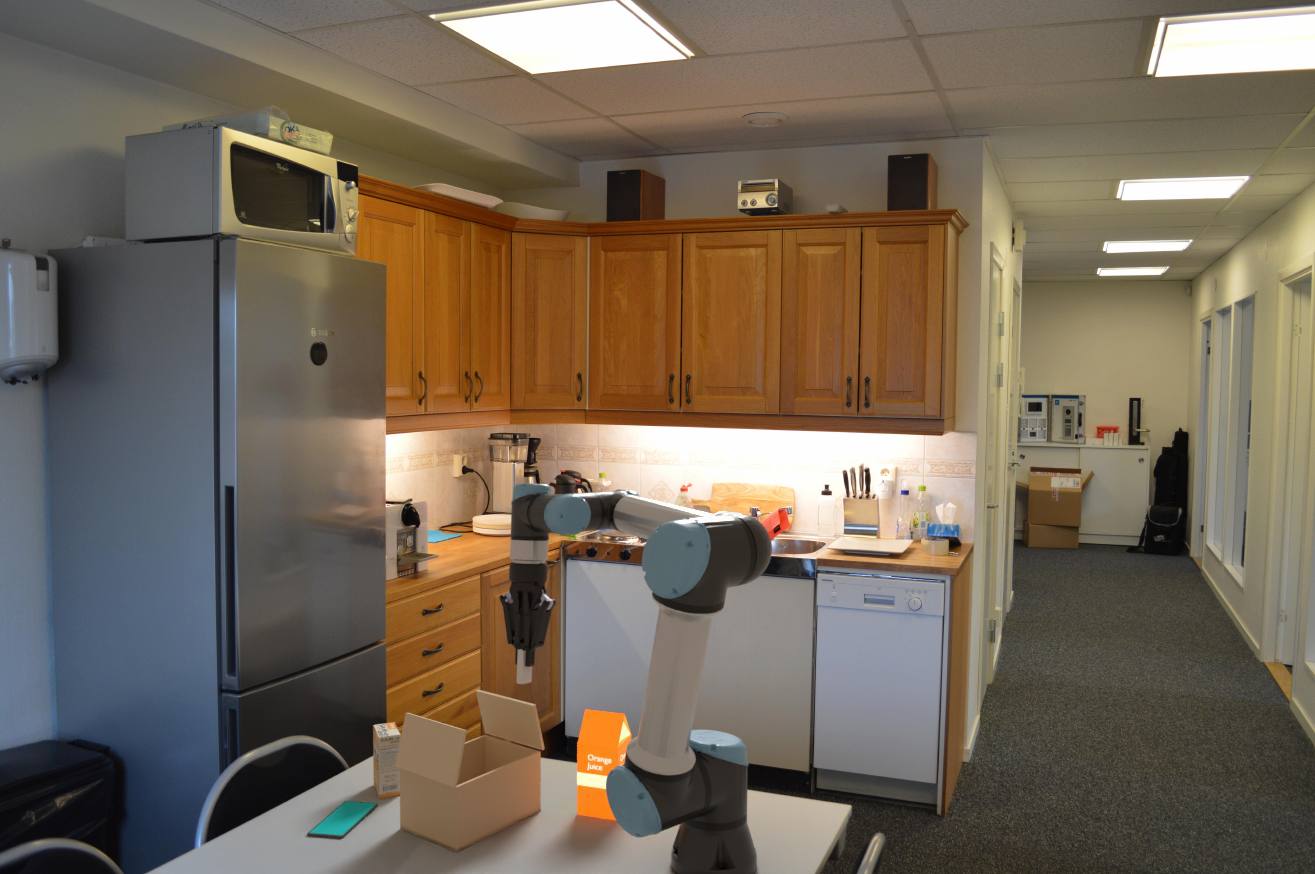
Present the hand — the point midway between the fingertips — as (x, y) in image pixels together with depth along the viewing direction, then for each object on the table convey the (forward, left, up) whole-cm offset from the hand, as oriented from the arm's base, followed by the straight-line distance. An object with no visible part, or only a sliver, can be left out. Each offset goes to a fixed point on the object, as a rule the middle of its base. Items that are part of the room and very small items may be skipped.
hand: (523, 682), depth 182 cm
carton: (+8, +6, -27) cm, 29 cm away
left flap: (+8, +16, -10) cm, 21 cm away
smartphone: (+28, +21, -28) cm, 45 cm away
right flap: (+8, -4, -10) cm, 13 cm away
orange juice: (-10, -13, -27) cm, 32 cm away
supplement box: (+33, +7, -27) cm, 43 cm away
